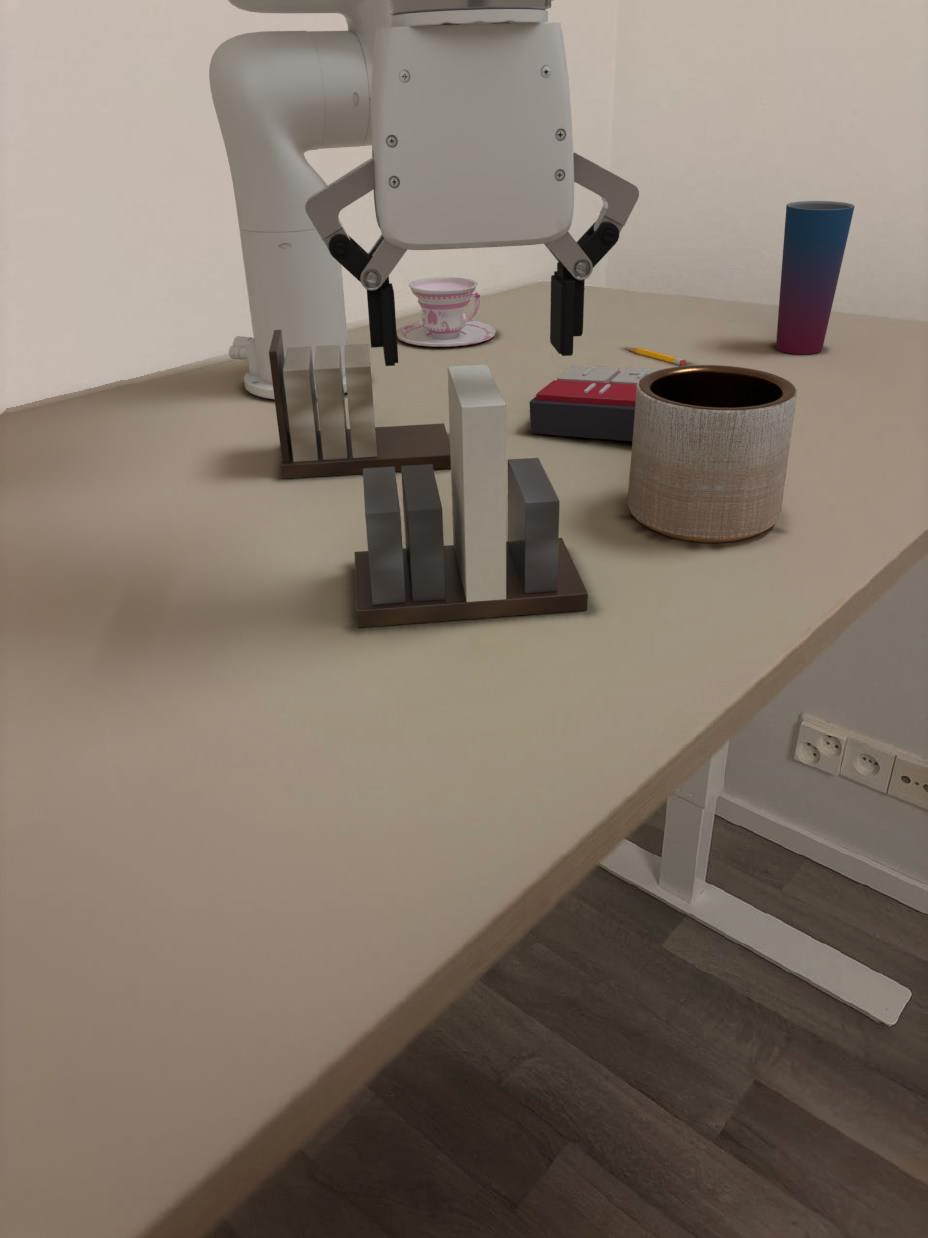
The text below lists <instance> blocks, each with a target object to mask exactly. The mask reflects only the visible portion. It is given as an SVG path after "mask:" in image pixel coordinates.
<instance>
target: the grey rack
mask: <svg viewBox="0 0 928 1238" xmlns="http://www.w3.org/2000/svg"><path fill="white" fill-rule="evenodd" d="M400 473H401V474H400V475H401V490H402V493H401V494H402V507H403V508H402V509H403V525H404V526H403V527H404V540H405V542H404V543H405V548H404V547H403V533H402V531H403V530H402V516H401V514H402V513H401V505H400V497H399V491H398V482H397V476H396V472H395V467H379V468H364V469H363V474H362V481H363V498H364V499H363V500H364V516H365V517H364V518H365V529H366V541H367V550H361V551H354V555H353V556H354V586H355V588H354V589H355V615H356V627H357V628H371V627H383V626H397V625H409V624H422V623H424V624H425V623H437V622H449V621H451V622H452V621H461V620H462V621H463V620H476V619H488V618H491V619H492V618H502V617H515V616H516V617H517V616H529V615H541V614H555V613H567V612H580V611H581V612H582V611H583V612H584V611H587V610H588V603H589V601H588V599H589V594H588V591H587V589H586V587H585V585H584V583H583V580H582V578H581V576H580V574H579V571H578V569H577V567H576V565H575V563H574V561H573V559H572V556H571V554H570V552H569V550H568V547H567V545H566V544H565V541H564V539H563V537H559V535H560V534H559V533H560V504H561V503H560V501H561V500H560V499H559V497H558V494H557V493H556V490H555V489H554V486H553V484H552V482H551V481H550V478H549V476H548V473H547V472H546V470H545V468H544V467H543V464H542V462H541V460H540V458H539V457H529V458H528V457H526V458H525V457H524V458H511V459H510V458H509V459H507V540H506V599H503V600H489V601H476V602H467V601H466V597H465V593H464V588H463V584H462V580H461V575H460V571H459V567H458V562H457V558H456V554H455V549H454V545H453V544H451V545H448V544H447V545H445V544H444V543H445V542H444V517H443V505H442V502H441V500H442V499H441V496H440V491H439V489H438V488H439V487H438V482H437V478H436V475H435V469H433V465H432V464H426V465H410V466H401V471H400Z"/></svg>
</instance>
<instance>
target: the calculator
mask: <svg viewBox="0 0 928 1238" xmlns="http://www.w3.org/2000/svg"><path fill="white" fill-rule="evenodd" d="M662 369H663V368H647V367H646V368H644V367H625V368H623V369H622V370H621V369H620V367H619V366H604V365H603V366H602V365H601V366H600V365H581V364H578V365H577V364H574V365H572V366H570V367H569V368H568V369H566V370H565V371H564V372H562V373H561V374H560V375H558V376H557V377H556V379H555V380H552V381H551V382H549V383H548V384H546V386H544V387H543V388H542V389H540V390H539V391H538V392H537V393H536V394H535V396H534V397H533V398H532V399H530V401H529V426H530V427H529V428H530V433H531V434H534V435H548V436H560V437H572V438H583V439H584V438H585V439H598V440H610V441H624V442H632V441H633V429H634V416H635V403H636V389H637V383H638V381H639V380H640V379H641V378H642V377H644V376H645V375H647V374H650V373H652V372H655V371H658V370H662ZM620 370H621V371H620Z"/></svg>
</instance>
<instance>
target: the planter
mask: <svg viewBox="0 0 928 1238" xmlns="http://www.w3.org/2000/svg"><path fill="white" fill-rule="evenodd" d="M661 369H662V370H658V371H655V372H652V373H650V374H647V375H645V376H644V377H642V378H641V379H640V380H639V381H638V383H637V389H636V403H635V416H634V429H633V441H631V443H632V444H631V454H630V467H629V477H628V478H629V479H628V487H627V488H628V490H627V506H628V510H629V512H630V514H631V515H632V516H633V517H634V518H635V519H636V520H637V521H638V522H639V523H641V524H642V525H644V526H645V527H647V528H648V529H650V530H652V531H654V532H656V533H658V534H661V535H663V536H667V537H670V538H673V539H678V540H683V541H689V542H697V543H717V544H718V543H719V544H720V543H727V542H728V543H729V542H736V541H743V540H746V539H749V538H752V537H755V536H758V535H760V534H762V533H764V532H766V531H768V530H769V529H771V528H772V527H773V526H775V525H776V523H777V522H778V520H779V518H780V515H781V512H782V507H783V501H784V493H785V485H786V478H787V470H788V461H789V456H790V455H789V454H790V449H791V448H790V447H791V441H792V433H793V425H794V421H795V420H794V419H795V412H796V406H797V399H798V389H797V387H796V386H795V385H794V384H793V383H792V382H790V381H789V380H788V379H786V378H784V377H781V376H779V375H776V374H774V373H770V372H768V371H763V370H759V369H754V368H749V367H748V368H747V367H742V366H734V365H722V364H695V365H694V364H693V365H692V364H691V365H684V366H680V365H678V366H673V367H667V368H661Z"/></svg>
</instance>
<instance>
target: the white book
mask: <svg viewBox="0 0 928 1238" xmlns="http://www.w3.org/2000/svg"><path fill="white" fill-rule="evenodd" d="M447 391H448V393H447V394H448V419H449V421H448V422H449V423H448V424H449V443H450V457H451V468H450V479H451V480H450V483H451V515H452V516H451V517H452V545H454V549H455V554H456V558H457V562H458V567H459V571H460V575H461V580H462V584H463V588H464V593H465V597H466V601H467V602H476V601H489V600H503V599H506V541H507V404H506V403H505V400H504V398H503V397H502V394H501V391H500V389H499V388H498V385H497V383H496V381H495V380H494V377H493V375H492V373H491V371H490V369H489V366H488V364H486V363H485V364H470V365H469V364H468V365H467V364H466V365H451V366H450V365H449V366H447Z"/></svg>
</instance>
